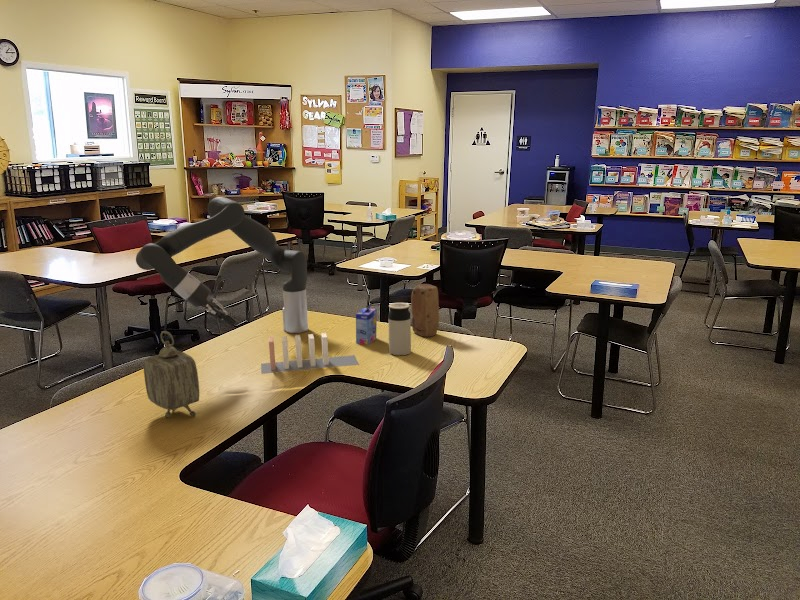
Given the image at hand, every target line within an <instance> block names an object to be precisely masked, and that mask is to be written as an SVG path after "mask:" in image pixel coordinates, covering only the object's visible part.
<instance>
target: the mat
mask: <svg viewBox="0 0 800 600" xmlns="http://www.w3.org/2000/svg"><path fill="white" fill-rule="evenodd" d="M328 360H329V365H324V363H323V360H322V357H318V358H315V363H316V366H311V365H310V358H309V359H307V358H306V359H302V367H299V368H298V366H297V359H296V360H289V369H284V361H277V362H276V361H275V365H276V370H271V365H270V362H266V363H261V364H260V369H261V372H260V373H261V374H262V375H263V374H272V373H273V374H275V373H283V372H294V371H305V370H306V371H307V370H314V369H317V370H318V369H325V368H334V367H335V368H337V367H346V366H356V365H357V366H359V365H360V364H359V361H358V360H357V358H356V355H355V354H353V355H351V354H350V355H339V356H330V357H329V356H328Z"/></svg>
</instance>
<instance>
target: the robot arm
mask: <svg viewBox="0 0 800 600" xmlns="http://www.w3.org/2000/svg"><path fill="white" fill-rule="evenodd" d="M207 213H208V216H209V218H207V219H204V220H200V221H198V222H193V223H189V224H184V225H182V226H179V227H178V228H176V229H174V230H172V231H170V232H168V233H167V234H165V235H164V236H162V237H161V238H160V239H159V240H158V241H155V242H154V243H153V242H152V243H151V242H150V243H147V244H145V245H143V246H142V247H141V248H140V249H139V251H138V252H137V254H136V256H135V263H136V265H137V266H138V268H140V269H142V270H144V271H151V270H155V271H156V272H157V273H158V274H159V275H160V279H161V280H162V282H163V283H165V284H166V285H167V286H168V287H170V289H172V290H173V291H174V292H175V293H176V294H177V295H179V296H180V297H181V298H182V299H183V300H184V301H186V302H188V304H190V305H191V306H192V307H194V308H196V309H197V308H199V307H200V306H202V307H204V310H205V311H206V312H208V314H209V316H212V317H214V318H216V319H218V320H220V321H223V320H224V322H225V323H227V324H228V325H230V326H232V327H233V326H234V325H236V323H237V319H235V318H234V317H233V316H232V315H230V314H229V312H228V311H227V309H226V308H225V307H224V306H223V304H222V303H221V302H220V301H219V300H218V299H216V298H215V297H211V296H210V294H211V293H212V292H211V291H212V290H211V288H209V287H208V286H207V285H206V284H205V283H202V282H201V281H200V280H199V279H197V278H196V277H195V276H194V275H192V274H190V273H189V272H188V271H187V270H185V269H184V267H181V266H180V265H179V264H177V262H176V261H175V260H174V259H173V258H172V257H174V256H177V255H178V254H180V253H181V252H183V251H185V250H187V249H188V248H190V247H192V246H193V245H195V244H197V243H199V242H201V241H203V240H205V239H207V238H210V237H212V236H215V235H218V234H220V233H222V232H225V231H227V230H229V231H231V232H232V233H233V234H234V235H236V236H237V237H238V238H239V239H241V240H242V241H243V242H244V243H245V244H246V245H248V247H250V248H251V249H253V250H255V251H256V252H257V253H259V254H260V255H262V256H263V257H264V258H266V259H267V260H268V261H270V262H271V264H273V265H274V266H275V267H276V269H278V270H279V271H280V272H282V273H286V274H287V273H288V274H291V279H290V280H286V281H285V282H283V283H282V294H283V307H282V309H281V310H282V324H283V325H282V326H283V331H285V332H286V333H291V334H300V333H304V332H307V331H309V322H308V321H309V316H308V303H307V302H308V301H307V288H306V287H307V282H308V269H307V268H308V261H307V259H308V258H307V257H306V256H307V255H306V254H305V252H304V251H301V250H293V249H291V250H290V249H285V248H283V247H281V246H280V245H278V243H277V238H276V236H275V233H274V232H272V231H271V230H270V229H268V227H266V226H265V225H263V224H262V223H260V222H258V221H257V220H255V219H253V218H251V217H249V216H246V215H245V209H244V207H243V205H241V203H239V202H237V201H235V200H234V199H233V200H232V199H230V198H227V197H224V196H217V197H214V198H212V199H211V200H210V201H209V202H208V204H207Z"/></svg>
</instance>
